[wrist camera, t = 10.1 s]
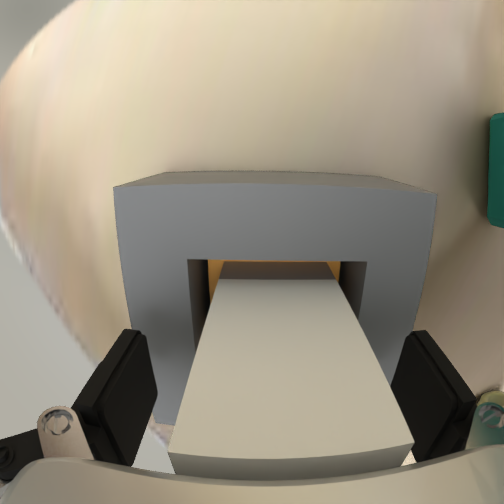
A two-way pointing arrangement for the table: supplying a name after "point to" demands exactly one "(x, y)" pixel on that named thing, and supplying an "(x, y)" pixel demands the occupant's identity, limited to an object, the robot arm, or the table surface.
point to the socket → (267, 253)
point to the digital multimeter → (496, 172)
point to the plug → (285, 383)
